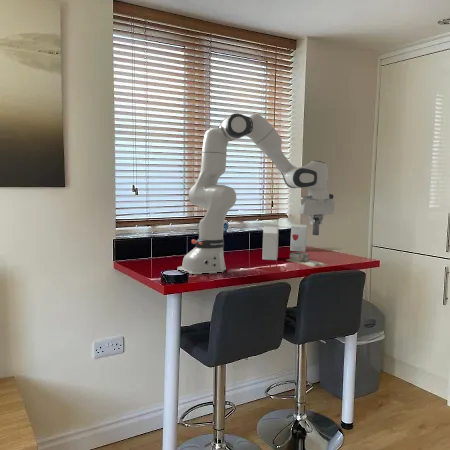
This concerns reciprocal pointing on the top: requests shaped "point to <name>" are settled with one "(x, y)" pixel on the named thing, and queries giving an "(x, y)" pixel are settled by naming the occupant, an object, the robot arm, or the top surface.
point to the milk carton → (270, 242)
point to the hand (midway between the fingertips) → (316, 224)
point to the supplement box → (298, 238)
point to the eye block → (303, 259)
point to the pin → (316, 224)
